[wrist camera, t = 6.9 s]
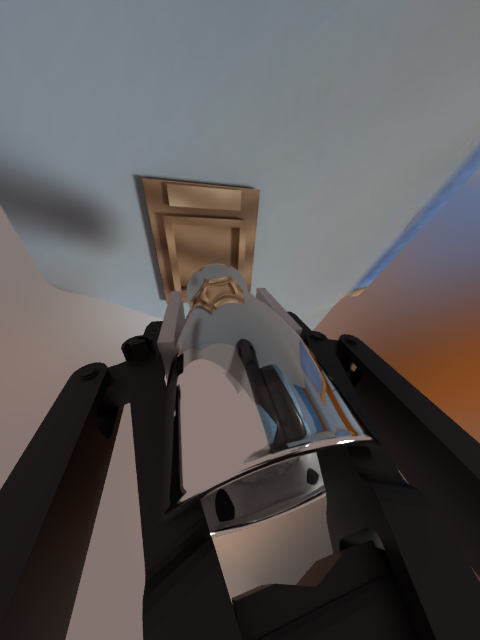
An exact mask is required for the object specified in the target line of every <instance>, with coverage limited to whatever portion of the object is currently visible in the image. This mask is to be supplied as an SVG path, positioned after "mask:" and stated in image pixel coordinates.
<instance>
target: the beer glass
mask: <svg viewBox="0 0 480 640" xmlns="http://www.w3.org/2000/svg"><path fill="white" fill-rule="evenodd" d="M186 296H187V301H188V304H189V307H190V310H189V313H188V315H187V317H186V319H185V322H184V324H183V326H182V329H181V331H180V333H179V336H178V339H177V342H176V345H175V348H174V351H173V354H172V359H171V364H170V369H169V375H168V380H167V395H166V407H165V423H164V445H163V472H162V491H161V503H160V512H159V517H158V524H159V525H165V524H168V523H170V522H171V521H173V520H174V519H175V518H176V517H177V516H178V515H179V514H180V513H181V512H182V511H184V510H185V509H186V508H188V507H189V506H190V505H192V504H194V503H195V502H197V501H198V500H200V501H201V504H202V507H203V511H204V514H205V517H206V521H207V524H208V527H209V530H210V534H211V537H212V538H213V537H217V536H222V535H226V534H229V533H233V532H236V531H240V530H243V529H246V528H249V527H253V526H255V525H258V524H261V523H264V522H267V521H270V520H272V519H275V518H277V517H280V516H283V515H285V514H288V513H290V512H292V511H295V510H297V509H299V508H302V507H304V506H306V505H308V504H310V503H312V502H314V501H316V500H318V499H321V498H323V497H325V496H326V491H325V487H324V483H323V478H322V474H321V470H320V466H319V461H318V457H317V453H316V452H319V451H323V450H328V449H333V448H339V447H347V446H361V447H366V448H367V451H368V454H369V455H370V456H371V457H379V456H380V454H381V452H382V446H381V444H380V442H379V441H378V440H377V439H376V438H375V437H374V436H373V434H372V433H371V432H370V430H369V429H368V428H367V426H366V425H365V424H364V422H363V421H362V420H361V418H360V417H359V415H358V414H357V413H356V411H355V410H354V408H353V407H352V406H351V404H350V403H349V401H348V400H347V398H346V397H345V395H344V394H343V393H342V391H341V390H340V388H339V387H338V385H337V384H336V382H335V381H334V380H333V378H332V377H331V375H330V374H329V373H328V371H327V370H326V369H325V367H324V366H323V364H322V363H321V362H320V360H319V359H318V358H317V356H316V355H315V354H314V353H313V351H312V350H311V349H310V347H309V346H308V345H307V344H306V342H305V341H304V340H303V339H302V337H301V336H300V335H299V334H298V333H297V332H296V331H295V330H294V329H293V328H292V327H291V326H290V325H289V323H288V322H287V321H286V320H285V319H284V318H282V317H281V316H280V315H279V314H278V313H276V312H275V311H274V310H273V309H272V308H270V307H269V306H268V305H266V304H265V303H264V302H262V301H261V300H259V299H258V298H256V297H255V296H253V295H252V294H251V293H249V292H248V288H247V284H246V281H245V279H244V277H243V276H242V274H241V273H240V272H239V271H238V270H237V269H235V268H234V267H232V266H230V265H227V264H222V263H213V264H208V265H205V266H203V267H201V268H200V269H198V270H197V271H196V272H195V273H194V274H193V275H192V277H191V278H190V280H189V282H188V285H187V290H186Z"/></svg>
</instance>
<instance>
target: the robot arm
mask: <svg viewBox="0 0 480 640" xmlns="http://www.w3.org/2000/svg"><path fill="white" fill-rule="evenodd" d="M256 298H258V299H259V300H261V301H262V302H264V303H265V304H266V305H268V306H269V307H270V308H272V309H273V310H274V311H275V312H276V313H278V314H279V315H280V316H281V317H282V318H284V319H285V320H286V321H287V322H288V323H289V325H290V326H291V327H292V328H293V329H294V330H295V331H296V332H297V333H298V334H299V335H300V336H301V337H302V339H303V340H304V341H305V342H306V344H307V345H308V346H309V347H310V349H311V350H312V351H313V353H314V354H315V355H316V356H317V358H318V359H319V360H320V362H321V363H322V364H323V366H324V367H325V369H326V370H327V371H328V373H329V374H330V375H331V377H332V378H333V380H334V381H335V382H336V384H337V385H338V387H339V388H340V390H341V391H342V393H343V394H344V395H345V397H346V398H347V400H348V401H349V403H350V404H351V406H352V407H353V408H354V410H355V411H356V413H357V414H358V415H359V417H360V418H361V420H362V421H363V422H364V424H365V425H366V426H367V428H368V429H369V430H370V432H371V433H372V434H373V436H374V437H375V438H376V439H377V440H378V441H379V442H380V444H381V446H382V452H381V454H380V456H379V457H371V456H370V455H369V454H368V451H367V448H366V447H361V446H347V447H339V448H333V449H328V450H323V451H319V452H316V453H317V457H318V461H319V466H320V470H321V474H322V478H323V483H324V487H325V491H326V496H327V512H326V515H327V524H328V530H329V535H330V540H331V544H332V549H333V554H331V555H329V556H327V557H325V558H322V559H320V560H318V561H316V562H315V563H314V564H313V565H312V567H311V568H310V569H309V570H308V571H307V572H306V574H305V575H304V576H303V577H302V578H301V579H300V581H299V582H298V583H297V584H296V585H284V584H269V585H261V586H259V587H256V588H254V589H252V590H250V591H248V592H245V593H243V594H241V595H238V596H236V597H234V598H232V603H231V600H230V597H229V593H228V590H227V587H226V583H225V580H224V576H223V573H222V570H221V567H220V563H219V560H218V557H217V553H216V550H215V547H214V544H213V541H212V537H211V534H210V530H209V527H208V524H207V521H206V517H205V514H204V511H203V507H202V504H201V501H200V500H198V501H197V502H195V503H194V504H192V505H190V506H189V507H188V508H186V509H185V510H184V511H182V512H181V513H180V514H179V515H178V516H177V517H176V518H175V519H174V520H173V521H171V522H170V523H168V524H165V525H159V524H158V517H159V512H160V503H161V491H162V472H163V445H164V423H165V407H166V395H167V387H166V384H165V380H164V378H165V375H166V378H167V379H168V375H169V369H170V364H171V359H172V354H173V351H174V348H175V345H176V342H177V339H178V336H179V333H180V331H181V329H182V326H183V324H184V322H185V315H184V308H183V300H182V293H181V291H171V295H170V298H169V302H168V305H167V309H166V313H165V316H164V320H163V321H156V322H151V323H150V324H149V325H148V326H147V327H146V329H145V332H144V334H143V335H141V336H135V337H133V338H130V339H128V340H126V341H125V342H124V343H123V344H122V347H121V349H122V351H123V354H124V356H125V359H126V361H125V362H123V363H120V364H118V365H114V366H111V367H108V368H107V366H106V365H105V364H104V363H100V362H99V363H92V364H88V365H86V366H83V367H81V368H79V369H78V370H77V371H75V372H74V373H73V374H72V375H71V377H70V378H69V380H68V381H67V383H66V385H65V386H64V388H63V389H62V391H61V393H60V394H59V396H58V398H57V399H56V401H55V402H54V404H53V406H52V407H51V409H50V410H49V412H48V414H47V415H46V417H45V418H44V420H43V422H42V423H41V425H40V427H39V428H38V430H37V432H36V433H35V435H34V436H33V438H32V440H31V441H30V443H29V444H28V446H27V448H26V449H25V451H24V452H23V454H22V456H21V457H20V459H19V461H18V462H17V464H16V465H15V467H14V469H13V470H12V472H11V474H10V475H9V477H8V479H7V480H6V482H5V483H4V485H3V487H2V488H1V490H0V640H65V638H66V634H67V631H68V627H69V623H70V619H71V615H72V611H73V607H74V603H75V599H76V595H77V591H78V586H79V583H80V579H81V575H82V571H83V567H84V563H85V559H86V555H87V551H88V547H89V543H90V539H91V535H92V531H93V527H94V523H95V519H96V515H97V511H98V507H99V503H100V499H101V495H102V492H103V488H104V484H105V480H106V476H107V472H108V468H109V464H110V460H111V456H112V451H113V448H114V444H115V440H116V436H117V432H118V428H119V424H120V420H121V416H122V412H123V408H124V405H125V404H127V403H130V404H131V416H132V427H133V438H134V449H135V461H136V472H137V482H138V493H139V505H140V515H141V526H142V538H143V549H144V560H145V575H146V576H145V589H144V595H143V614H142V615H143V617H142V619H143V640H480V582H479V580H478V579H477V577H476V575H475V574H474V572H473V570H474V571H475V572H476V573H477V574H478V576H479V577H480V444H479V443H478V442H477V441H476V440H475V439H474V438H473V437H471V436H470V435H469V434H468V433H467V432H466V431H465V430H463V429H462V428H461V427H460V426H459V425H458V424H457V423H455V422H454V421H453V420H452V419H451V418H450V417H448V416H447V415H446V414H445V413H444V412H443V411H442V410H440V409H439V408H438V407H437V406H436V405H435V404H434V403H432V402H431V401H430V400H429V399H428V398H427V397H425V396H424V395H423V394H422V393H421V392H420V391H419V390H417V389H416V388H415V387H414V386H413V385H412V384H410V383H409V382H408V381H407V380H406V379H405V378H404V377H402V376H401V375H400V374H399V373H398V372H397V371H395V370H394V369H393V368H392V367H391V366H390V365H389V364H387V363H386V362H385V361H384V360H383V359H382V358H380V357H379V356H378V355H377V354H376V353H375V352H374V351H373V350H371V349H370V348H369V347H368V346H367V345H365V344H364V343H363V342H362V341H361V340H360V339H358V338H356V337H354V336H352V335H346V334H344V335H341V336H340V337H339V340H330V339H327V337H326V336H325V335H324V334H322V333H320V332H316V331H311V330H310V329H309V328H308V327H307V326H306V325H305V324H304V323H303V322H302V321H301V320H300V319H299V317H298V316H297V315H295V314H294V313H292V312H286V311H285V310H284V308H283V307H282V306H281V305H280V304H279V303H278V302H277V301H276V300H275V299H274V298H273V296H272V295H271V294H270V293H269V292H268V291H267V290H266V289H265V288H257V292H256ZM353 363H354V364H355V365H356V366H357V368H356V370H355V371H353V370H352V369H351V367H352V365H353ZM396 466H397V467H396ZM397 468H398V469H399V471H400V472H401V473H402V475H403V476H404V477H405V479H406V480H407V482H408V483H409V484H408V483H407V482H406V481H405V480H404V479H403V478H402V476H401V474H400V473H399V471H398V469H397ZM383 548H385V550H384V549H383ZM470 566H471V567H472V568H473V570H472V568H471V567H470Z"/></svg>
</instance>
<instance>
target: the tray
mask: <svg viewBox="0 0 480 640" xmlns="http://www.w3.org/2000/svg"><path fill="white" fill-rule="evenodd" d="M142 182H143V187H144V192H145V197H146V202H147V207H148V212H149V217H150V222H151V227H152V232H153V237H154V242H155V247H156V253H157V258H158V263H159V268H160V273H161V278H162V283H163V288H164V293H165V298H166V303H167V304H168V302H169V298H170V295H171V291H181V293H182V300H183V303H188V301H187V296H186V290H187V285H188V282H189V280H190V278H191V277H192V275H193V274H194V273H195V272H196V271H197V270H198V269H200V268H201V267H203V266H205V265H208V264H213V263H222V264H227V265H230V266H232V267H234V268H235V269H237V270H238V271H239V272H240V273H241V274H242V276H243V277H244V279H245V281H246V284H247V288H248V292H249V293H250V290H251V279H252V268H253V258H254V247H255V236H256V226H257V215H258V204H259V194H260V190H258V189H248V188H237V187H227V186H217V185H207V184H197V183H187V182H176V181H166V180H156V179H146V178H142Z"/></svg>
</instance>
